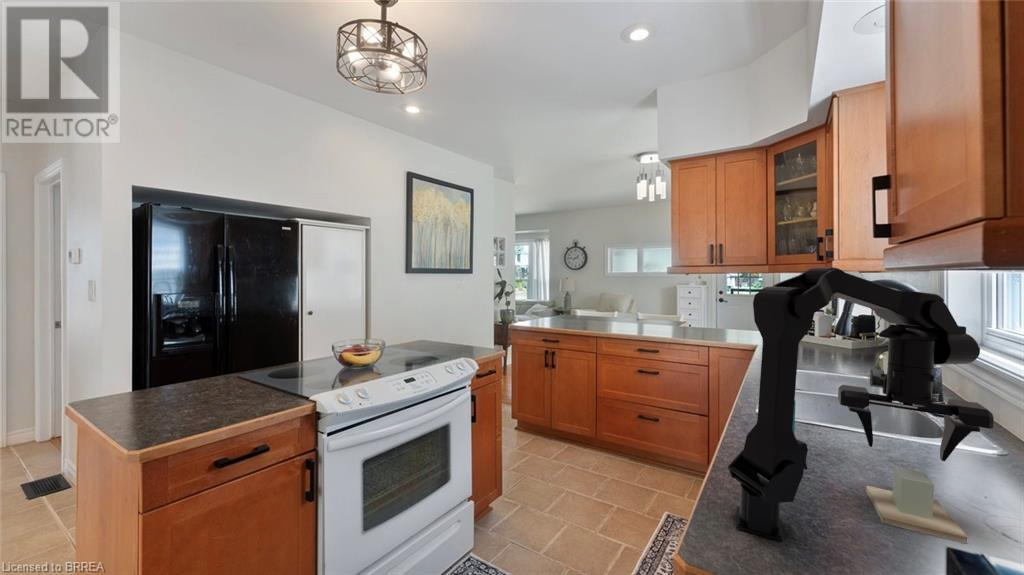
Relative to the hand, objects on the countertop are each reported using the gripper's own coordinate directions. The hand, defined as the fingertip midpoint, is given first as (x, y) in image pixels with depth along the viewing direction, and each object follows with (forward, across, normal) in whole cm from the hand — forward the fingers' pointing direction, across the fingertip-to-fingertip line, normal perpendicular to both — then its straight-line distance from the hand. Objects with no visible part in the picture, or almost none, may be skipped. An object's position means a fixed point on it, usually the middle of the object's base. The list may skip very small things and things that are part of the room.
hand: (905, 452), depth 71 cm
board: (+11, -1, 0) cm, 11 cm away
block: (+10, -1, 0) cm, 10 cm away
